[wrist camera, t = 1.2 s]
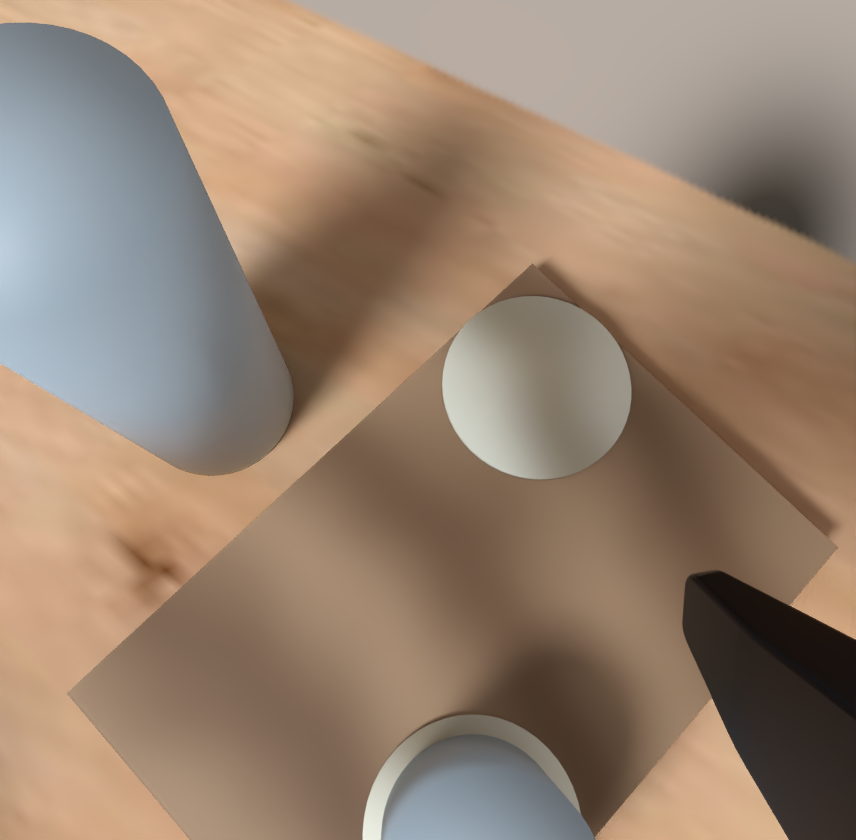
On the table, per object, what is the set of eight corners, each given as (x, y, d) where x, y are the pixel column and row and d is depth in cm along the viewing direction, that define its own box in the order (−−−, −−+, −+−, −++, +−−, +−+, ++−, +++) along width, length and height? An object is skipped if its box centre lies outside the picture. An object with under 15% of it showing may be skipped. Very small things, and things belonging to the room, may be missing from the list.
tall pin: (207, 508, 22) (-33, 394, 10) (104, 396, 23) (-244, 156, 10) (326, 401, 23) (247, 173, 11) (224, 297, 24) (39, -32, 11)
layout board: (403, 1070, 19) (405, 1100, 18) (82, 688, 21) (63, 694, 20) (831, 560, 23) (854, 559, 22) (527, 276, 25) (533, 261, 24)
